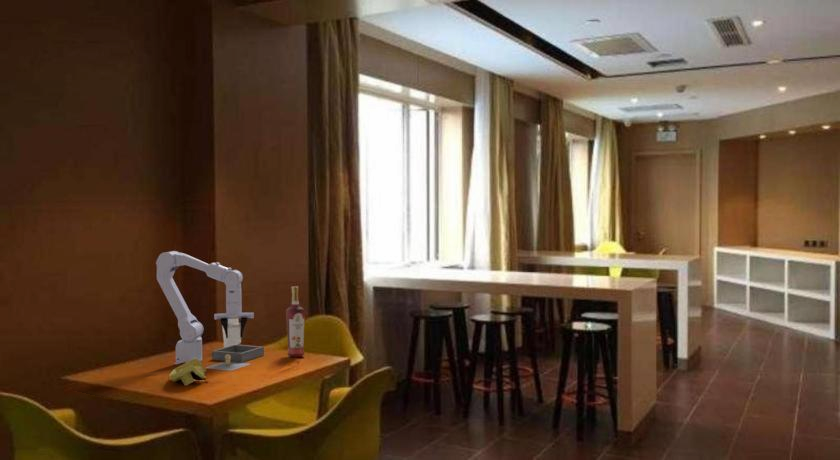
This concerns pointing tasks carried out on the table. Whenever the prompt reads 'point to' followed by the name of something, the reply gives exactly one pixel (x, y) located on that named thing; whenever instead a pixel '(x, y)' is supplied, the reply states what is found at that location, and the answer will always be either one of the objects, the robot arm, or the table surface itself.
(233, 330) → the light grey block
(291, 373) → the table surface
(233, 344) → the drinking glass
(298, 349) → the liquor
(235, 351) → the bin
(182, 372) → the plastic component
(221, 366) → the base
